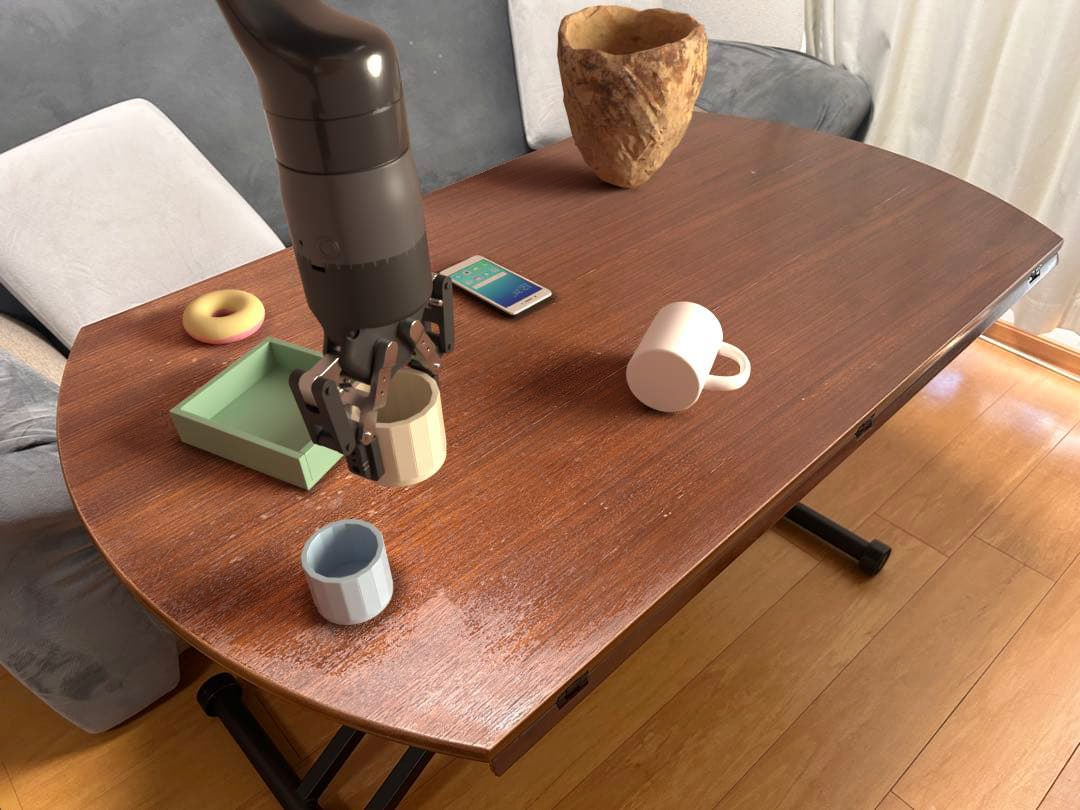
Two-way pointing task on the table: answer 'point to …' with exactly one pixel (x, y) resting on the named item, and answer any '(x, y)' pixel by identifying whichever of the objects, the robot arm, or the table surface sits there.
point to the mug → (681, 359)
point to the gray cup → (348, 571)
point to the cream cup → (409, 428)
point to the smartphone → (496, 286)
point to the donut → (214, 329)
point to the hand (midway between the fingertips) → (399, 442)
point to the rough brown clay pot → (629, 86)
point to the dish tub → (257, 415)
